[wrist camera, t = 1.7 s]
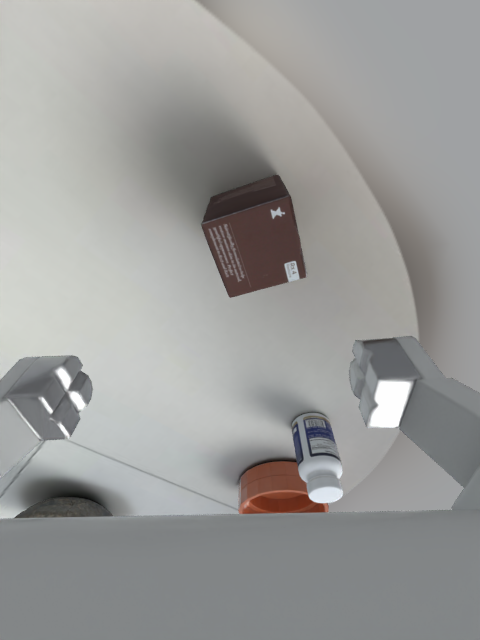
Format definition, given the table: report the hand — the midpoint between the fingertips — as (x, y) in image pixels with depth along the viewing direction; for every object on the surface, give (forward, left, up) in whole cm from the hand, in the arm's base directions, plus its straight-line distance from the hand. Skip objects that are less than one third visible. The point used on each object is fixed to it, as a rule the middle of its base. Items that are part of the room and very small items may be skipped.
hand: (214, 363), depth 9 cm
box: (-1, +2, -20) cm, 20 cm away
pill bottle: (-6, +32, -20) cm, 38 cm away
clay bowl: (0, +47, -20) cm, 51 cm away
